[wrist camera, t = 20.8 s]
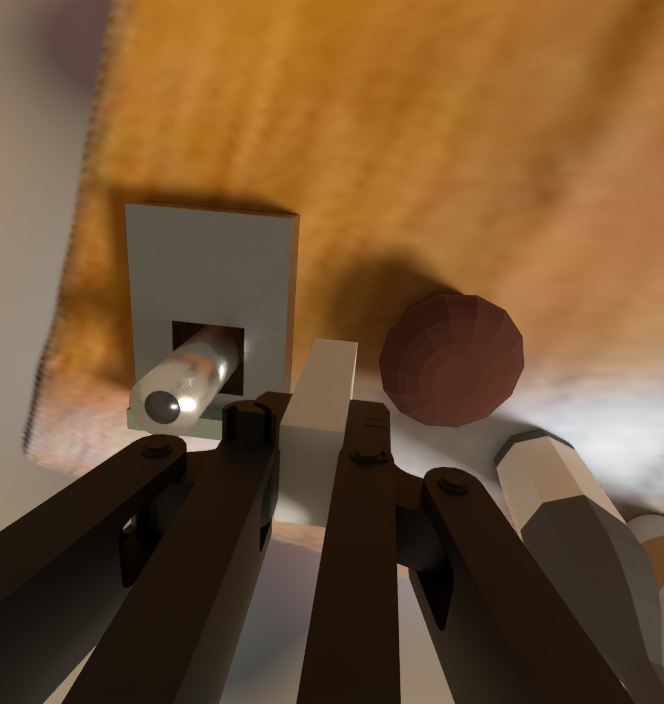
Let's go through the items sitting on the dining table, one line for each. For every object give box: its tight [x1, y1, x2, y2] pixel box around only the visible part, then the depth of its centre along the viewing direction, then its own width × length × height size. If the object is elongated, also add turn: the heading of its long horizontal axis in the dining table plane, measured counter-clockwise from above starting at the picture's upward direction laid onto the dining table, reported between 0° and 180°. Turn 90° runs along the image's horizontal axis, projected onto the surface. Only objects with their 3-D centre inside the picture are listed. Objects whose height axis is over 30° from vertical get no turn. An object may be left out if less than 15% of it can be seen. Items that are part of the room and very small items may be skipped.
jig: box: [125, 201, 300, 440], centre depth 45 cm, size 20×14×6 cm
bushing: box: [129, 324, 244, 437], centre depth 42 cm, size 5×5×14 cm
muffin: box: [379, 292, 524, 427], centre depth 42 cm, size 12×11×10 cm
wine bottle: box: [494, 429, 664, 704], centre depth 36 cm, size 8×8×30 cm
